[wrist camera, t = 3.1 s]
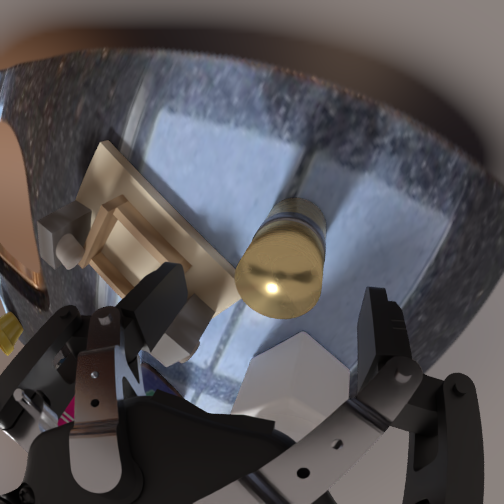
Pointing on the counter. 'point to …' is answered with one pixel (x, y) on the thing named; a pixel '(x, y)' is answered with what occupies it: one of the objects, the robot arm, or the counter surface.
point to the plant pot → (9, 332)
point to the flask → (155, 381)
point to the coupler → (284, 261)
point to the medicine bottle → (293, 386)
